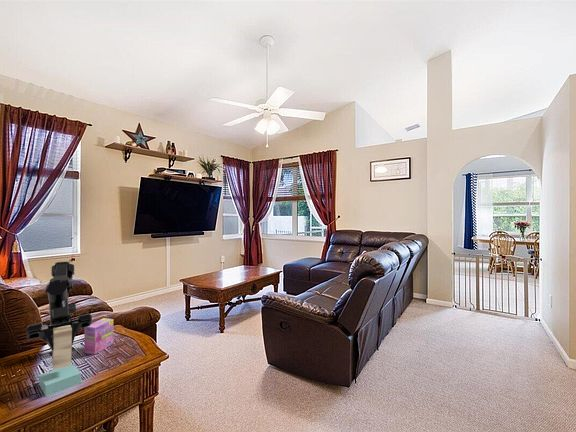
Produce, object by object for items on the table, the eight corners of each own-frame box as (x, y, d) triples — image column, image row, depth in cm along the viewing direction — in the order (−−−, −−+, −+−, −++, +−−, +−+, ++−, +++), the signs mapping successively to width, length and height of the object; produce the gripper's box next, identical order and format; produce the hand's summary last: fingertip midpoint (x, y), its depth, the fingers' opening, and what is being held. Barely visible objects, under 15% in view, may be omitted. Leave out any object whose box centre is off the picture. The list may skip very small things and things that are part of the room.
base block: (45, 397, 98) (45, 385, 98) (39, 385, 104) (39, 374, 104) (81, 384, 105) (81, 373, 105) (73, 373, 112) (72, 363, 112)
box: (95, 354, 126) (94, 327, 126) (84, 353, 127) (83, 326, 127) (114, 343, 136) (113, 318, 136) (103, 342, 137) (103, 317, 137)
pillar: (52, 364, 105) (53, 328, 105) (69, 359, 108) (70, 325, 108) (53, 369, 101) (54, 332, 101) (71, 365, 105) (71, 329, 105)
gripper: (26, 302, 101) (27, 345, 93) (90, 292, 114) (96, 329, 106) (26, 319, 107) (27, 360, 99) (87, 307, 120) (92, 343, 112)
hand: (62, 347), depth 104 cm, fingers closed on pillar, 5 cm apart
